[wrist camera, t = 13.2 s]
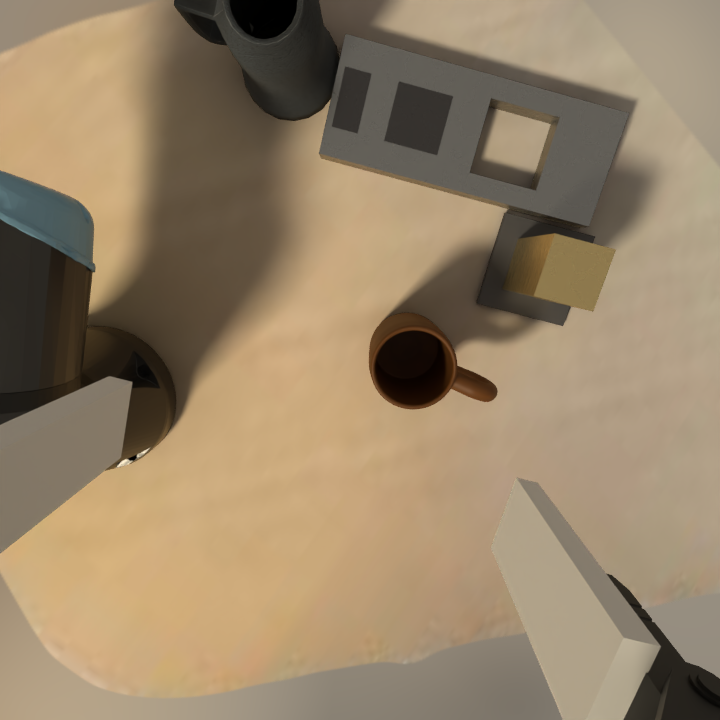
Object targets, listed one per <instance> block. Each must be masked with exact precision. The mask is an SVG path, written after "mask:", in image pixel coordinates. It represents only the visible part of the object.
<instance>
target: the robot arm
mask: <svg viewBox="0 0 720 720" xmlns="http://www.w3.org/2000/svg"><path fill="white" fill-rule="evenodd" d="M93 240H94V223H93V219H92V217H91V215H90V213H89V211H88V210H87V209H86V208H85V207H84V206H83V205H82V204H81V203H80V202H79V201H77V200H76V199H74V198H72V197H70V196H68V195H65V194H63V193H60V192H58V191H55V190H53V189H50V188H48V187H45V186H42V185H40V184H37V183H34V182H32V181H29V180H26V179H23V178H21V177H18V176H15V175H12V174H9V173H6V172H4V171H1V170H0V553H1V552H3V551H4V550H5V549H6V548H8V547H9V546H10V545H11V544H13V543H14V542H15V541H17V540H18V539H19V538H20V537H22V536H23V535H24V534H25V533H27V532H28V531H29V530H30V529H32V528H33V527H34V526H35V525H37V524H38V523H39V522H40V521H42V520H43V519H44V518H46V517H47V516H48V515H49V514H51V513H52V512H53V511H54V510H56V509H57V508H58V507H59V506H61V505H62V504H63V503H64V502H66V501H67V500H68V499H69V498H71V497H72V496H73V495H75V494H76V493H77V492H78V491H80V490H81V489H82V488H83V487H85V486H86V485H87V484H88V483H90V482H91V481H92V480H93V479H95V478H96V477H97V476H98V475H100V474H101V473H102V472H103V471H106V470H110V469H114V468H118V467H122V466H125V465H128V464H131V463H133V462H135V461H137V460H139V459H140V458H142V457H143V456H145V455H146V454H147V453H149V452H150V451H151V450H152V449H153V448H154V447H156V446H157V445H158V444H159V443H160V442H161V441H162V440H163V438H164V437H165V436H166V434H167V433H168V431H169V429H170V427H171V425H172V422H173V419H174V415H175V409H176V395H175V389H174V385H173V381H172V378H171V376H170V373H169V371H168V369H167V367H166V366H165V364H164V363H163V361H162V360H161V358H160V357H159V356H158V355H157V354H156V352H155V351H154V350H153V349H152V348H151V347H149V346H148V345H147V344H146V343H144V342H143V341H142V340H140V339H139V338H137V337H135V336H133V335H132V334H129V333H127V332H125V331H122V330H119V329H115V328H111V327H102V326H93V327H87V321H88V312H89V302H90V292H91V282H92V273H93V272H95V268H96V267H95V264H94V263H93ZM491 549H492V552H493V554H494V556H495V559H496V561H497V564H498V566H499V568H500V571H501V573H502V576H503V578H504V580H505V583H506V585H507V587H508V590H509V592H510V595H511V597H512V599H513V602H514V604H515V607H516V609H517V611H518V614H519V616H520V618H521V621H522V623H523V626H524V628H525V630H526V633H527V635H528V638H529V640H530V642H531V645H532V647H533V650H534V652H535V654H536V656H537V659H538V661H539V664H540V666H541V668H542V671H543V673H544V676H545V678H546V681H547V683H548V685H549V688H550V690H551V692H552V695H553V697H554V700H555V702H556V704H557V706H558V709H559V711H560V714H561V716H562V719H563V720H720V679H719V678H718V677H716V676H715V675H714V674H712V673H710V672H708V671H706V670H705V669H703V668H701V667H699V666H696V665H693V664H690V663H687V662H685V661H684V659H683V658H682V657H681V656H680V654H679V653H678V652H677V650H676V649H675V648H674V647H673V646H672V644H671V643H670V642H669V640H668V639H667V638H666V636H665V635H664V634H663V633H662V631H661V630H660V629H659V628H658V626H657V625H656V624H655V623H654V622H652V619H651V617H650V616H649V615H648V613H647V612H646V611H645V610H644V609H642V606H641V605H640V603H639V602H638V601H637V599H636V598H635V597H634V596H633V594H632V593H631V592H630V591H629V590H628V589H627V588H626V587H625V586H624V585H623V584H621V583H620V582H619V581H618V580H617V579H616V578H614V577H613V576H612V575H609V574H606V573H605V572H604V570H603V569H602V568H601V566H600V565H599V564H598V562H597V561H596V560H595V558H594V557H593V556H592V554H591V553H590V552H589V550H588V549H587V548H586V546H585V545H584V544H583V542H582V541H581V540H580V538H579V537H578V536H577V534H576V533H575V532H574V530H573V529H572V528H571V526H570V525H569V524H568V522H567V521H566V520H565V518H564V517H563V516H562V514H561V513H560V512H559V510H558V509H557V508H556V506H555V505H554V504H553V502H552V501H551V500H550V498H549V497H548V496H547V494H546V493H545V492H544V490H543V489H542V488H541V486H540V485H539V484H538V483H536V482H532V481H528V480H524V479H520V478H516V479H515V482H514V485H513V488H512V491H511V493H510V496H509V499H508V502H507V504H506V507H505V510H504V513H503V515H502V518H501V521H500V524H499V526H498V529H497V532H496V535H495V537H494V540H493V543H492V546H491Z"/></svg>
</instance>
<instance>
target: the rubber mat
mask: <svg viewBox="0 0 720 720" xmlns="http://www.w3.org/2000/svg"><path fill="white" fill-rule="evenodd" d="M554 233H555V234H559V235H563V236H567V237H570V238H574V239H578V240H582V241H585V242H589V243H593V241H594V238H595V237H594V236H590V235H587V234H583V233H579V232H575V231H572V230H568V229H564V228H561V227H557V226H553V225H550V224H546V223H542V222H538V221H535V220H531V219H527V218H524V217H520V216H516V215H512V214H509V213H504V216H503V219H502V222H501V226H500V229H499V232H498V235H497V238H496V242H495V245H494V248H493V251H492V254H491V258H490V261H489V264H488V267H487V270H486V273H485V277H484V280H483V283H482V286H481V289H480V293H479V296H478V299H477V302H476V303H477V304H481V305H485V306H489V307H493V308H496V309H500V310H504V311H508V312H512V313H515V314H519V315H523V316H527V317H531V318H534V319H538V320H542V321H546V322H550V323H553V324H557V325H561V326H563V325H564V322H565V319H566V316H567V314H568V311H569V308H570V306H567V305H563V304H559V303H554V302H550V301H546V300H542V299H539V298H535V297H531V296H527V295H523V294H520V293H516V292H512V291H508V290H504V289H502V288H503V285H504V282H505V279H506V275H507V272H508V269H509V266H510V263H511V260H512V257H513V254H514V250H515V247H516V244H517V241H518V239H520V238H527V237H533V236H540V235H547V234H554Z"/></svg>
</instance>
